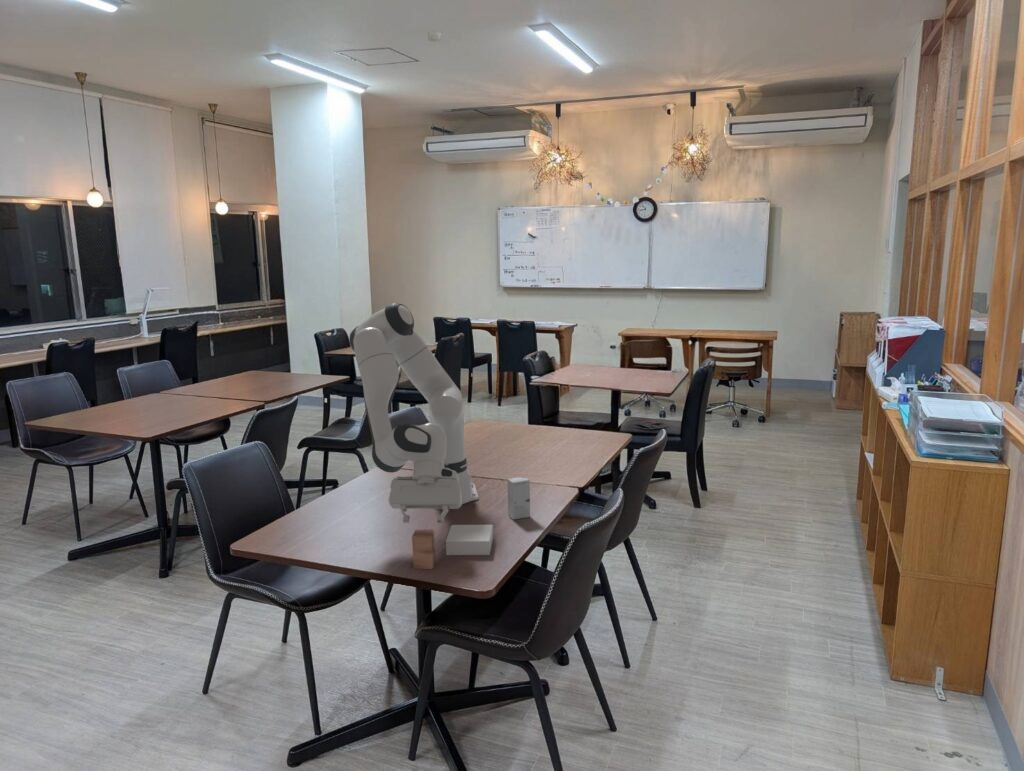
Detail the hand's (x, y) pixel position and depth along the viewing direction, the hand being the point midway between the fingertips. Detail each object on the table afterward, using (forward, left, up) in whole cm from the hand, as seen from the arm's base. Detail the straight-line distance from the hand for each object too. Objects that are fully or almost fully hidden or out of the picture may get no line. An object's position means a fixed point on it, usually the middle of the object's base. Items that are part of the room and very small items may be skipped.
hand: (422, 522), depth 190 cm
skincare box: (-30, +25, -10) cm, 40 cm away
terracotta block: (+5, +1, -10) cm, 11 cm away
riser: (-7, +12, -10) cm, 17 cm away
